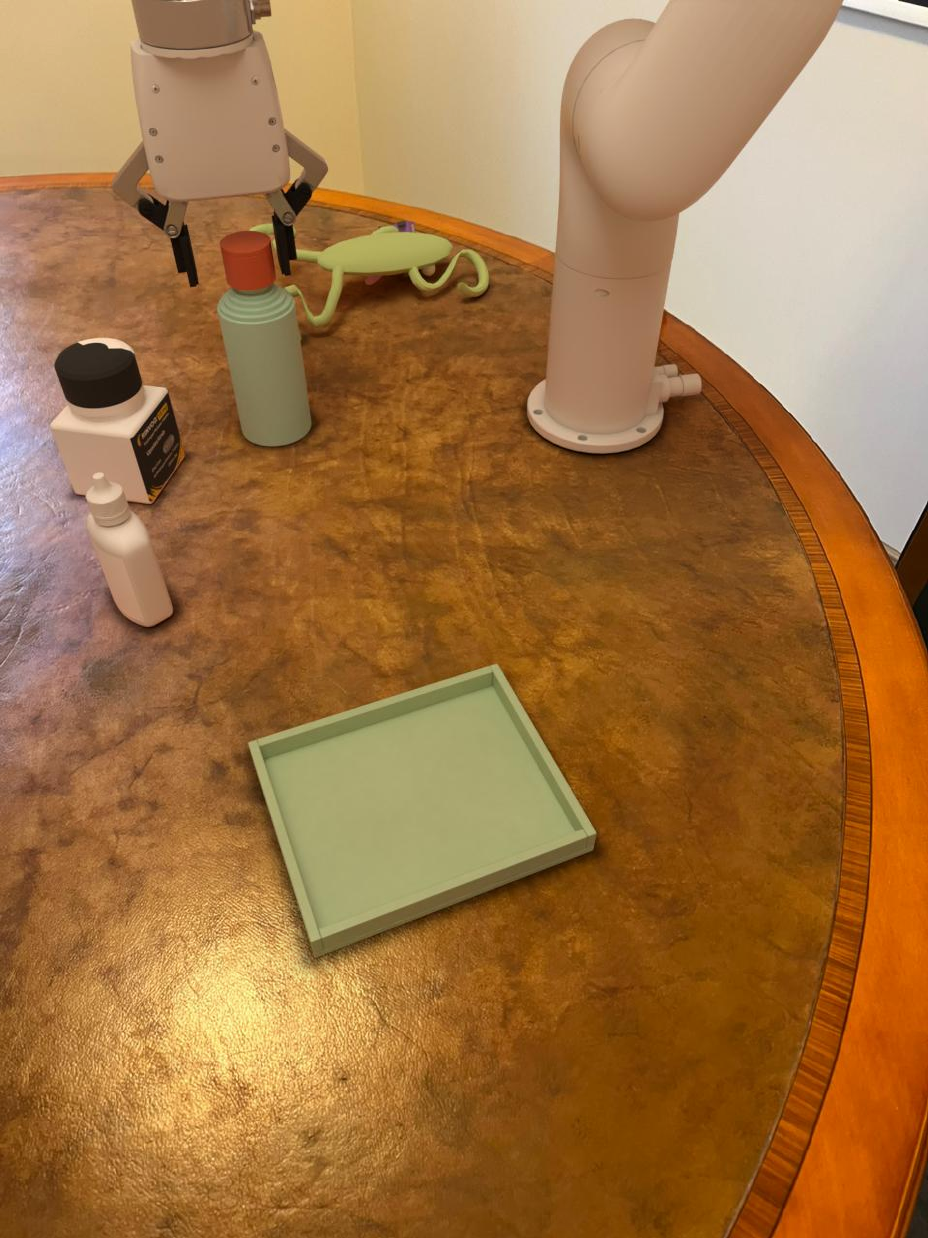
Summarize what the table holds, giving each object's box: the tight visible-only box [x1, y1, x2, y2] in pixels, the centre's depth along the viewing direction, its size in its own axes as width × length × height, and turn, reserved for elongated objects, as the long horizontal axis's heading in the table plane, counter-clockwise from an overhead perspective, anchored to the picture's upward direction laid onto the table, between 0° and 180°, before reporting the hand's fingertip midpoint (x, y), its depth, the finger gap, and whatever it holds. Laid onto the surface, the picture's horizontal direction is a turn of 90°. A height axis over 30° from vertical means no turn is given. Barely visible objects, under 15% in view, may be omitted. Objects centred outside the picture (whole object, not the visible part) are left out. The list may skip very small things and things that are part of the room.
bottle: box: [216, 282, 313, 447], centre depth 80 cm, size 6×6×16 cm
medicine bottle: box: [49, 337, 186, 505], centre depth 76 cm, size 7×7×12 cm
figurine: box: [248, 220, 490, 341], centre depth 103 cm, size 18×27×6 cm
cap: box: [219, 230, 277, 291], centre depth 74 cm, size 4×4×3 cm
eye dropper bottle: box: [85, 473, 174, 628], centre depth 65 cm, size 4×6×12 cm
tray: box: [247, 663, 597, 959], centre depth 57 cm, size 17×14×2 cm
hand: (239, 272), depth 75 cm, fingers open, 6 cm apart
